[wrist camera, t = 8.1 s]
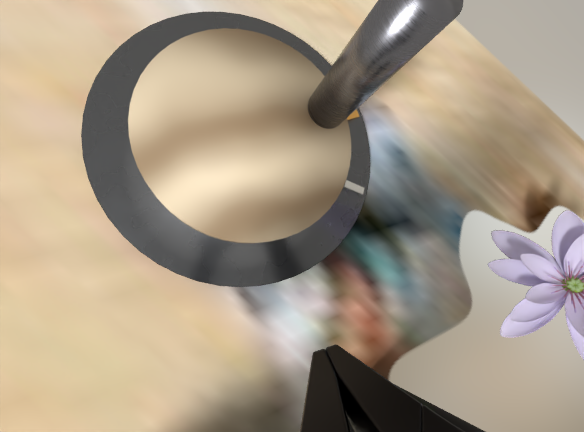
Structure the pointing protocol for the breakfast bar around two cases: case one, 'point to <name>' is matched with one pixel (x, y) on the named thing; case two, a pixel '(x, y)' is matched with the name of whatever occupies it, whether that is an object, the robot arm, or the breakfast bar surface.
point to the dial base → (155, 216)
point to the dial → (264, 120)
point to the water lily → (545, 278)
